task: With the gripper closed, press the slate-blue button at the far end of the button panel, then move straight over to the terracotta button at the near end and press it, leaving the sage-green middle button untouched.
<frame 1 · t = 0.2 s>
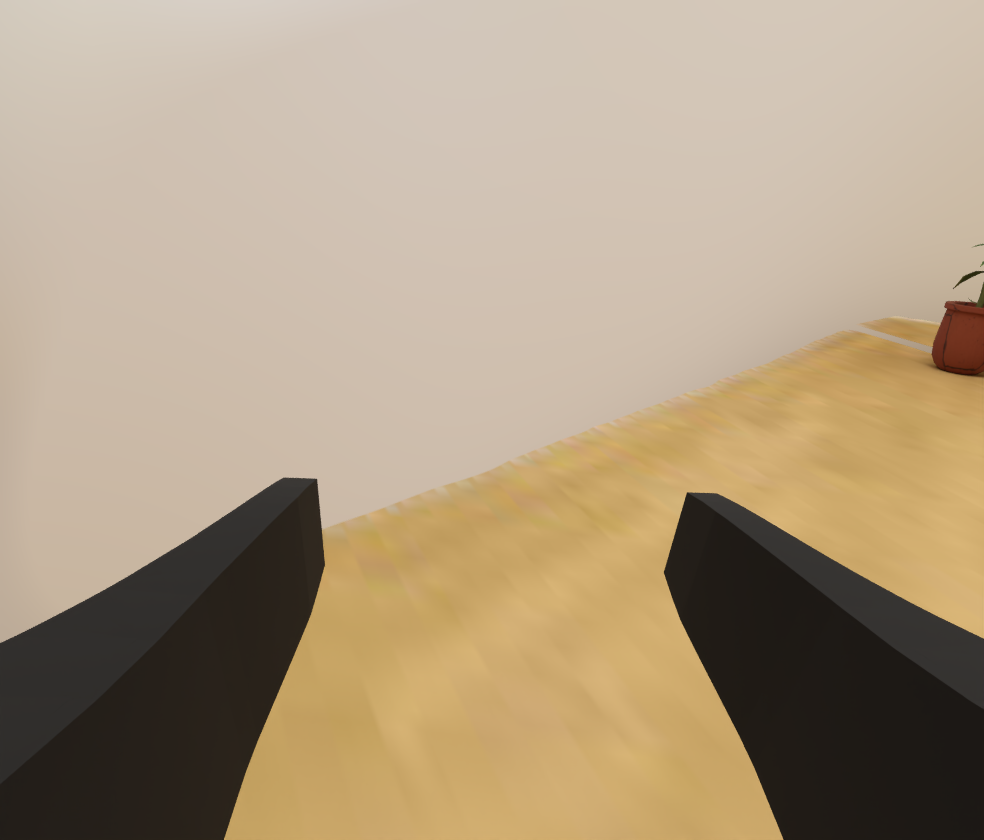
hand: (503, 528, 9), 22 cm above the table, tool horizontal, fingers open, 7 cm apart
potted plant: (959, 370, 110), on the table
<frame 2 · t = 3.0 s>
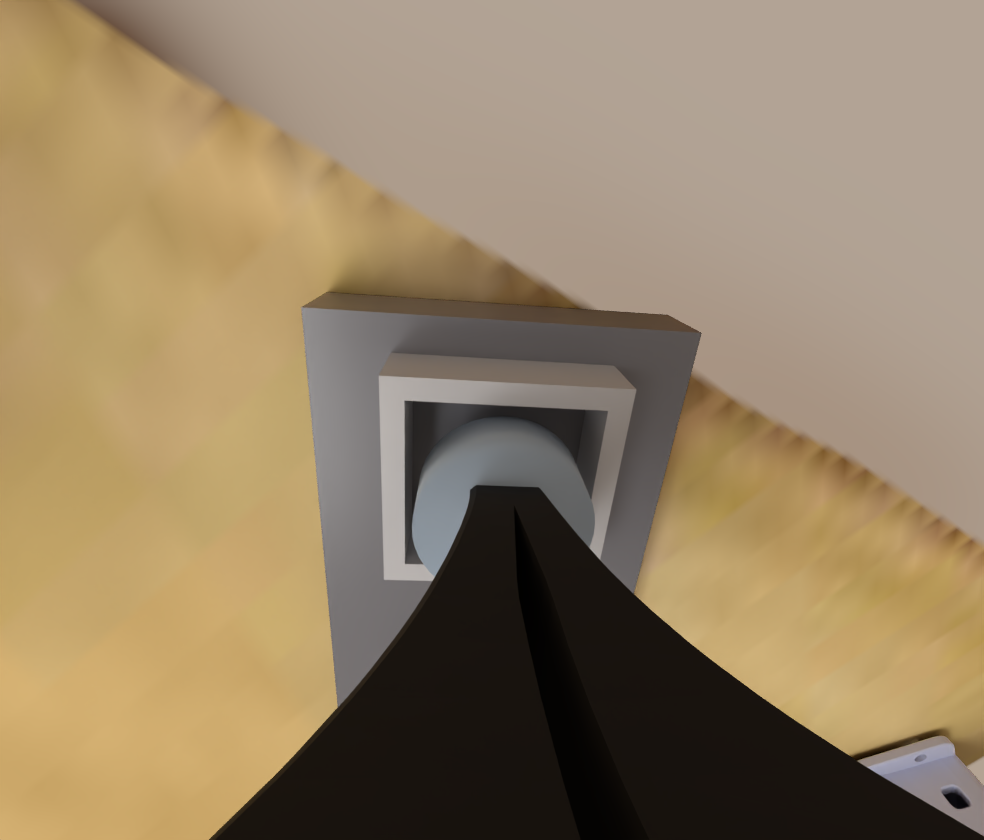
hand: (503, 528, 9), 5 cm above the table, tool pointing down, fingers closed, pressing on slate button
button panel: (472, 662, 18), on the table
slate button: (501, 508, 10), point 4 cm above the table, slide at 0.3 cm, touching gripper
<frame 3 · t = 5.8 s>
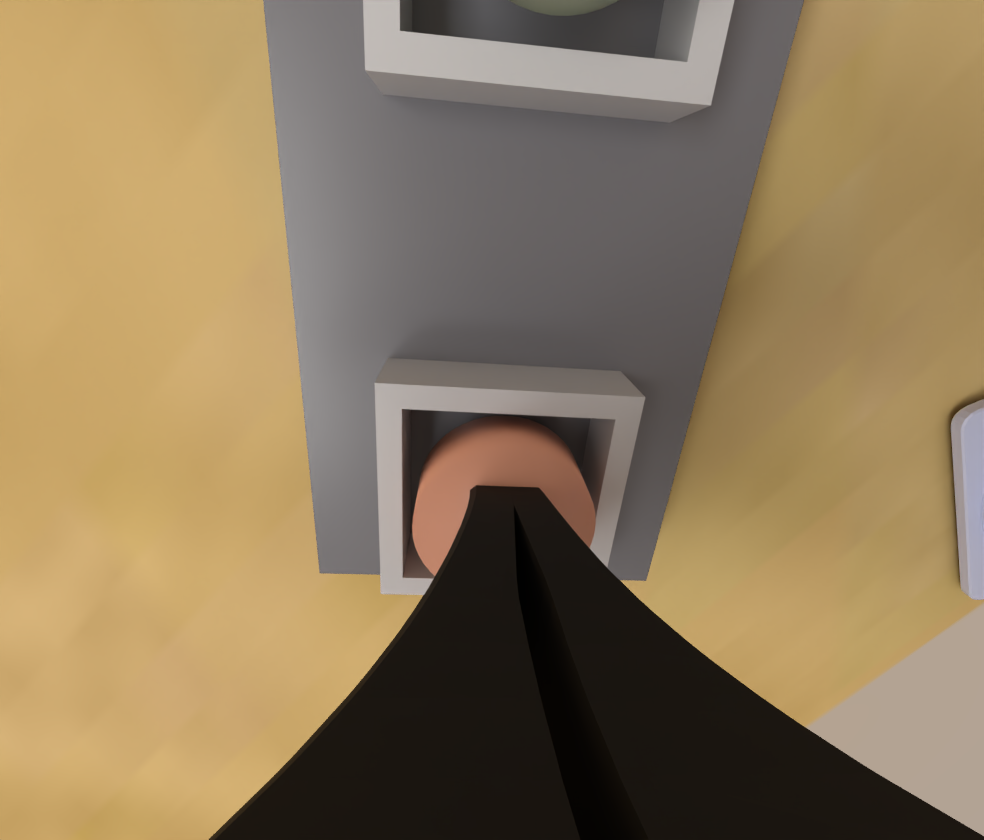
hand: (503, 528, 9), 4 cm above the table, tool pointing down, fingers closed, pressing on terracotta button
terracotta button: (502, 507, 10), point 4 cm above the table, slide at 0.8 cm, touching gripper
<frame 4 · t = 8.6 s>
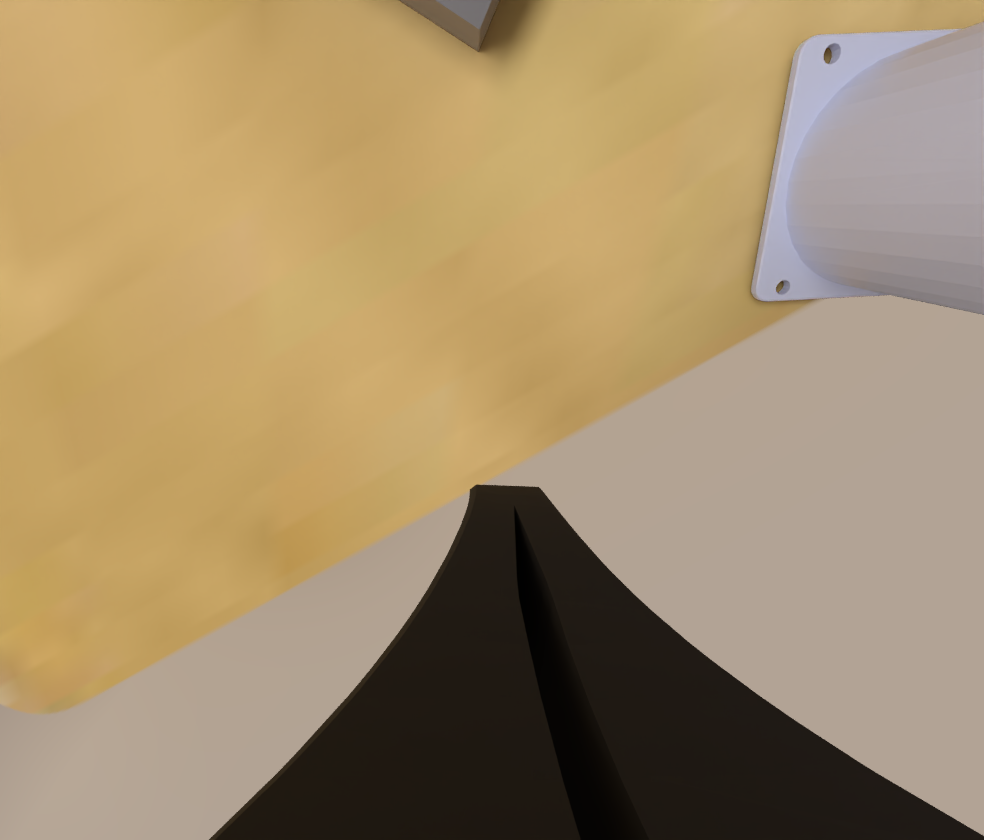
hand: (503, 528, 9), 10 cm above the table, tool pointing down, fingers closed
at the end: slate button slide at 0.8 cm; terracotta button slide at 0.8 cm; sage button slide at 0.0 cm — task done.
